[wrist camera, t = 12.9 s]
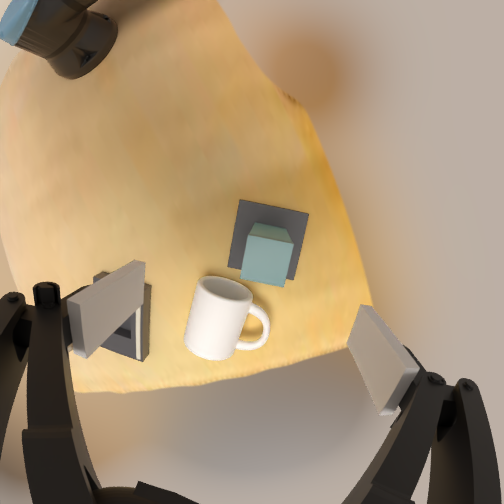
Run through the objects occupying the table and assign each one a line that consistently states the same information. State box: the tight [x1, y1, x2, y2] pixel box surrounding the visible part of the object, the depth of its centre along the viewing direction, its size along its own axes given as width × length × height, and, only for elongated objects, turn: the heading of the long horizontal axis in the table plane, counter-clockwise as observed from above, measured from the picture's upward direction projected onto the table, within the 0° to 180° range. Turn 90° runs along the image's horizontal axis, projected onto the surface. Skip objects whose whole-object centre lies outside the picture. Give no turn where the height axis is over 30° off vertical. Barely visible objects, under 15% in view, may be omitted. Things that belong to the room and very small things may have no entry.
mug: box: [184, 276, 270, 360], centre depth 38 cm, size 12×10×8 cm
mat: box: [228, 200, 309, 280], centre depth 39 cm, size 10×10×1 cm
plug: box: [240, 222, 294, 287], centre depth 33 cm, size 5×5×12 cm
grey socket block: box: [93, 272, 151, 362], centre depth 42 cm, size 14×10×3 cm
